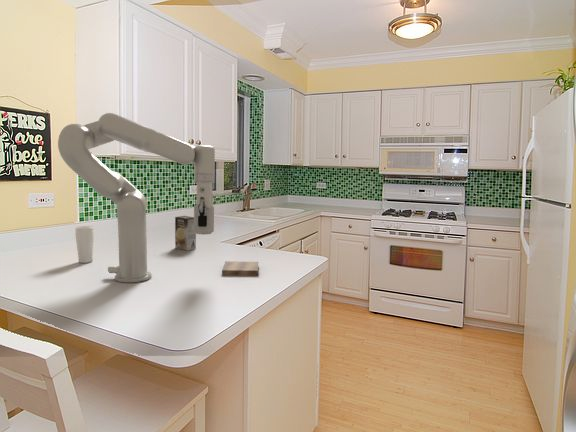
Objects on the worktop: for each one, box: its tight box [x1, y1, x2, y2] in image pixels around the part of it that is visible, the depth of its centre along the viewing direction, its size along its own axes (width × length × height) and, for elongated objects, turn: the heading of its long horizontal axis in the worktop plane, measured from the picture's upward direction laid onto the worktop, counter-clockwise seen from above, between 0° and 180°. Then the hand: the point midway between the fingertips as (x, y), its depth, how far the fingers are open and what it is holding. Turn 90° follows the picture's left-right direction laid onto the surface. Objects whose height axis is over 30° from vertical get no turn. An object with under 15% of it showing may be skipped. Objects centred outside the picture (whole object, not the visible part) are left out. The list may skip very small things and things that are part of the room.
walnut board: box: [221, 260, 259, 277], centre depth 157 cm, size 14×14×2 cm
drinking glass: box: [75, 225, 95, 264], centre depth 162 cm, size 7×7×15 cm
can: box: [193, 201, 215, 235], centre depth 148 cm, size 8×8×12 cm
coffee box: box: [174, 215, 197, 251], centre depth 195 cm, size 9×6×16 cm
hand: (204, 224), depth 148 cm, fingers closed on can, 7 cm apart
